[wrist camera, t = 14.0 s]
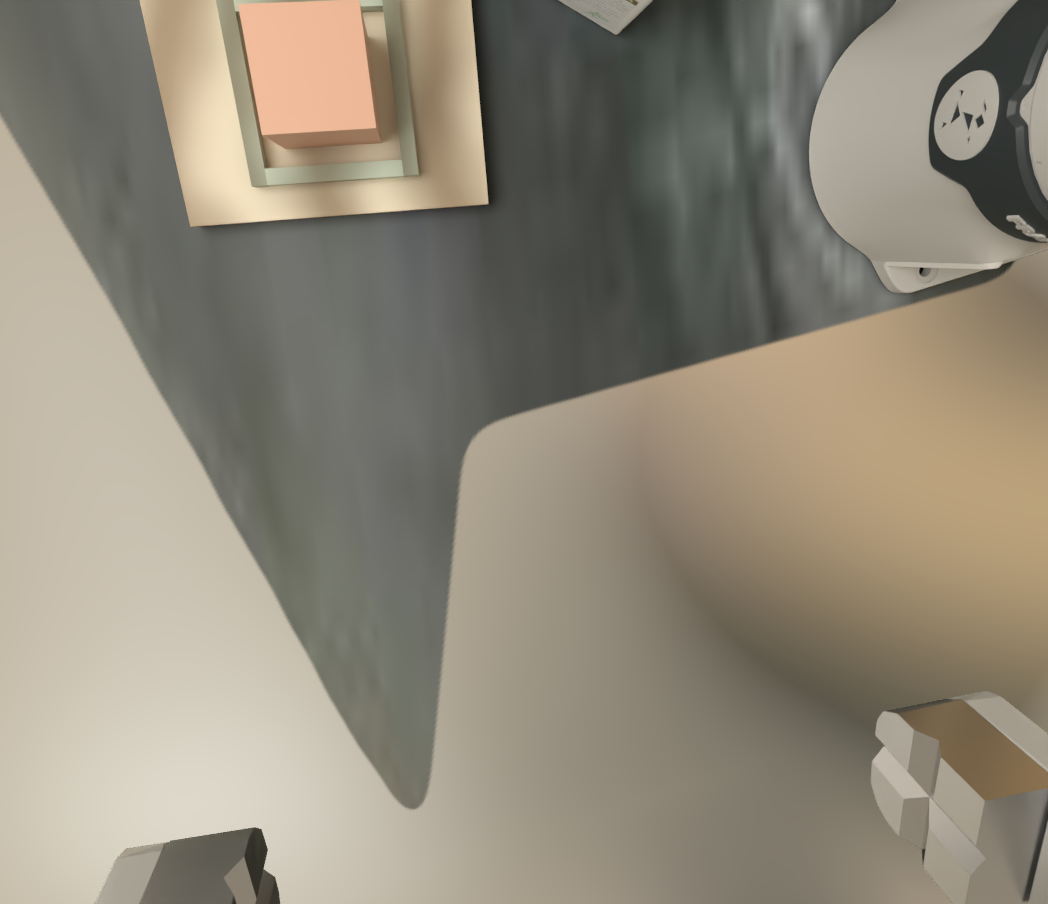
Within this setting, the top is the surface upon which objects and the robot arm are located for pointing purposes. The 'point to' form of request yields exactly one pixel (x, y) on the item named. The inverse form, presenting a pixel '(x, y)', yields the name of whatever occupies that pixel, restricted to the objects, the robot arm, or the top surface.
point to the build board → (334, 171)
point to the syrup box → (609, 11)
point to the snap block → (311, 73)
